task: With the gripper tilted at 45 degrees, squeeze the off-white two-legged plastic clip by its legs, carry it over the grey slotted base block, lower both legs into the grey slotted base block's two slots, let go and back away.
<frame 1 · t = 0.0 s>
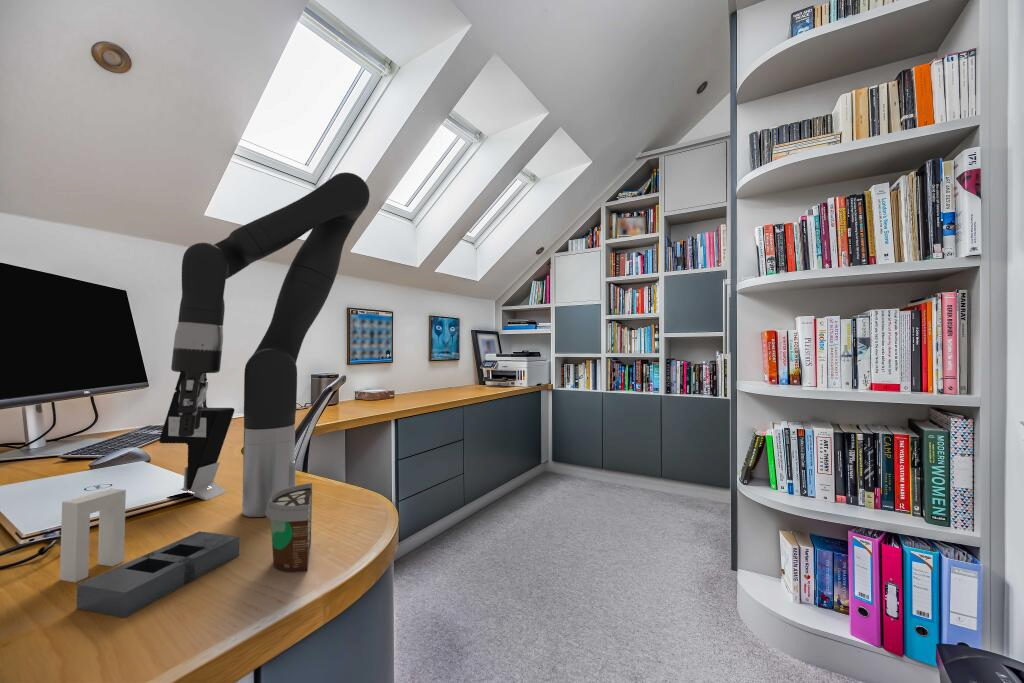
hand: (189, 432, 79), 17 cm above the table, fingers open, 8 cm apart
food container: (287, 561, 64), on the table
award: (195, 495, 94), on the table
grey slotted base block: (167, 578, 59), on the table
clip: (93, 570, 61), on the table
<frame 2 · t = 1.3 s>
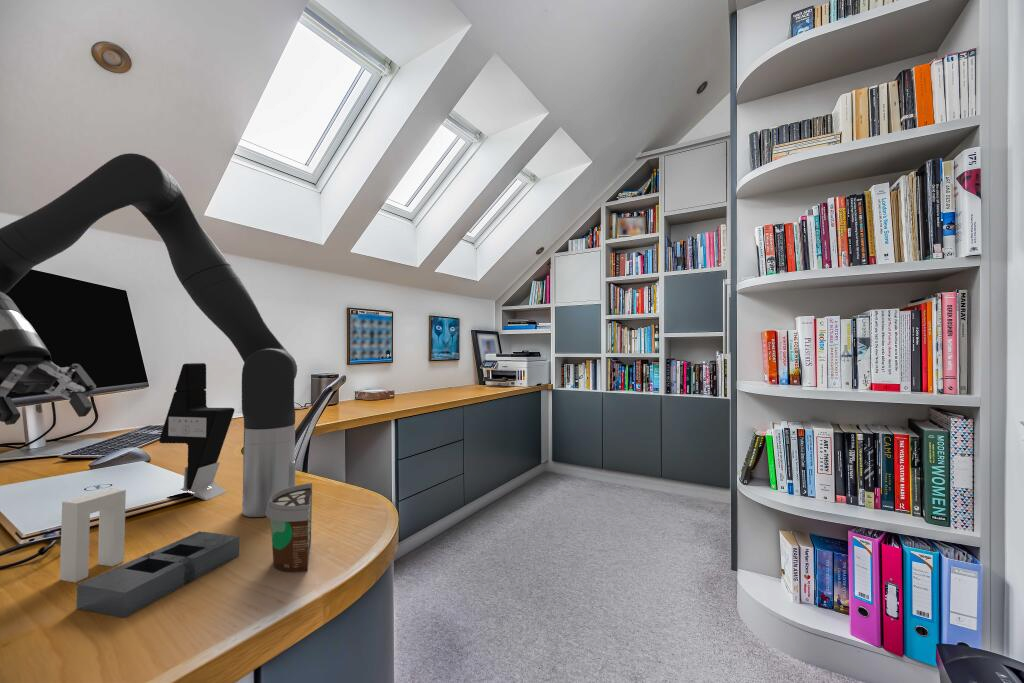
hand: (52, 416, 65), 22 cm above the table, fingers open, 8 cm apart
nothing on the table moved.
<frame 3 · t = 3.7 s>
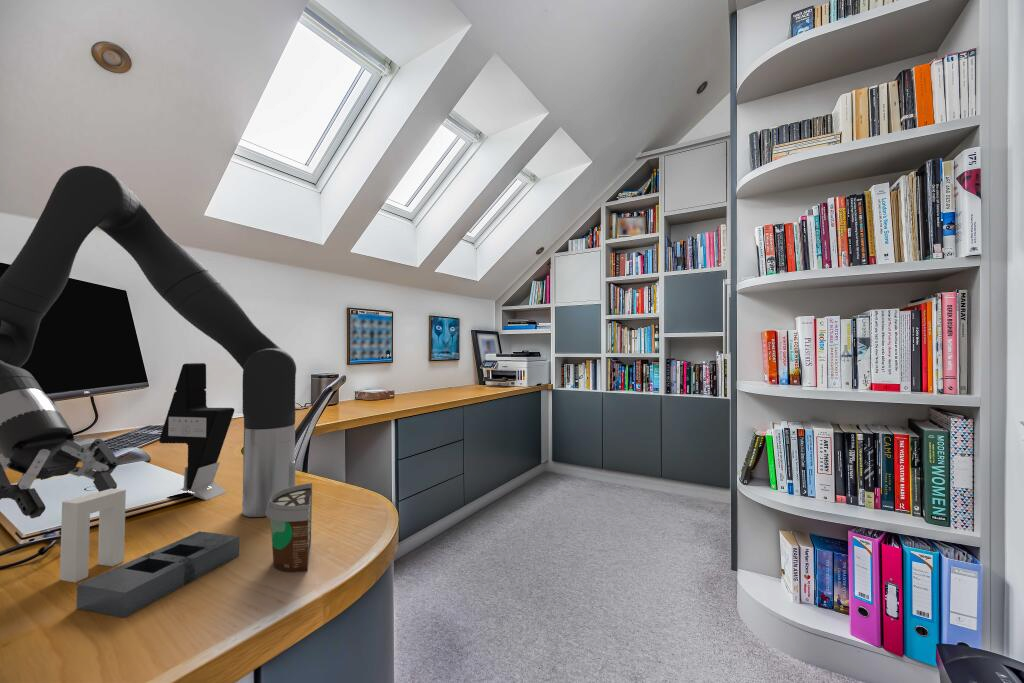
hand: (77, 503, 62), 10 cm above the table, fingers open, 8 cm apart
nothing on the table moved.
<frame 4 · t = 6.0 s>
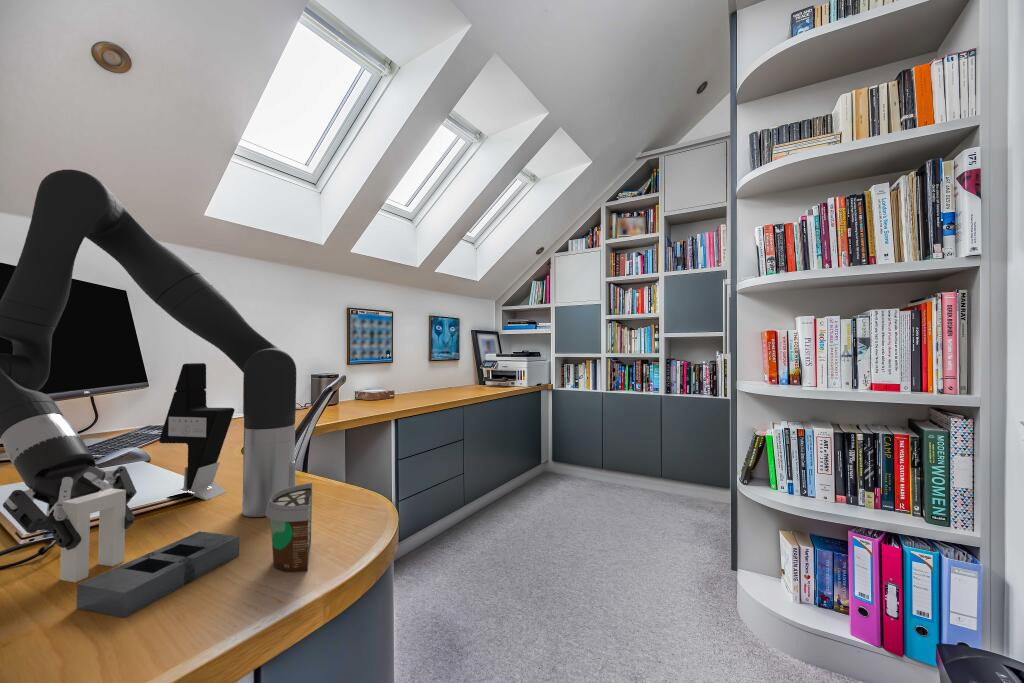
hand: (103, 535, 61), 5 cm above the table, fingers closed on clip, 6 cm apart
clip: (93, 570, 61), on the table, touching gripper
everything else where it was.
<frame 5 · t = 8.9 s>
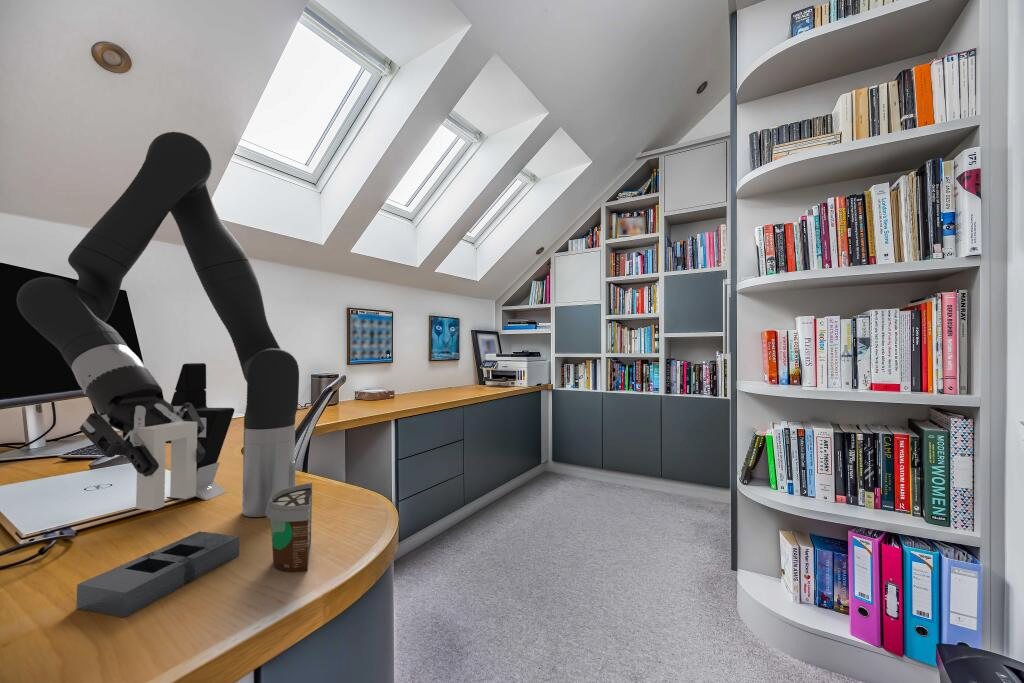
hand: (177, 465, 59), 16 cm above the table, fingers closed on clip, 6 cm apart
clip: (167, 501, 59), point 11 cm above the table, touching gripper
everything else where it was.
when the fingers open (6 cm above the table, at t = 11.9 s): clip stays where it is, resting in grey slotted base block.
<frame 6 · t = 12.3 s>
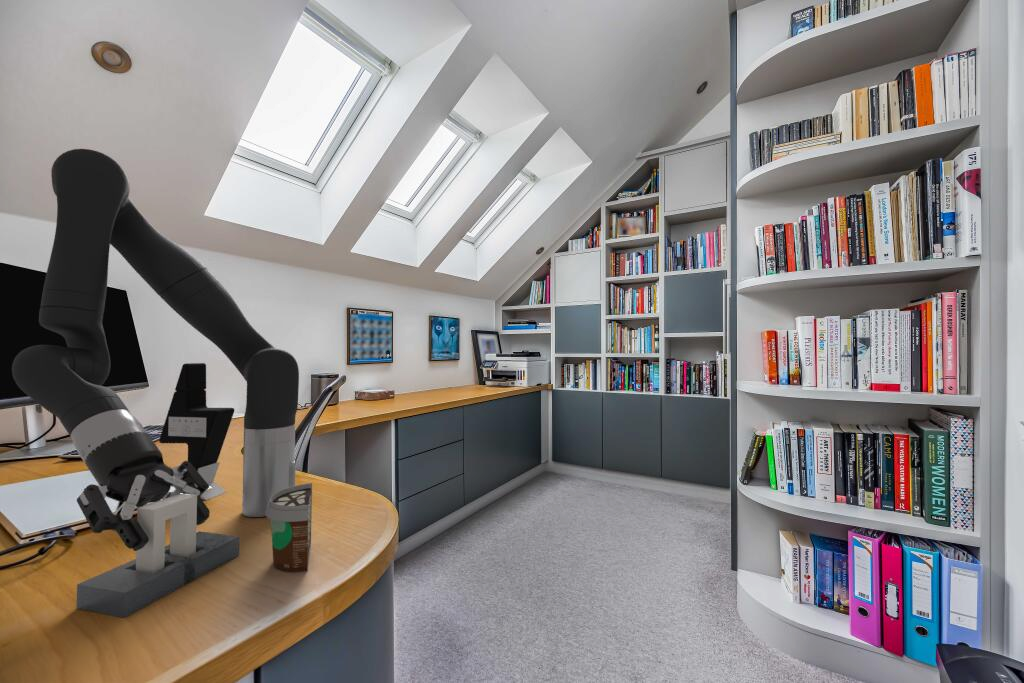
hand: (175, 532, 59), 7 cm above the table, fingers open, 8 cm apart
clip: (166, 578, 59), resting in grey slotted base block
everything else where it was.
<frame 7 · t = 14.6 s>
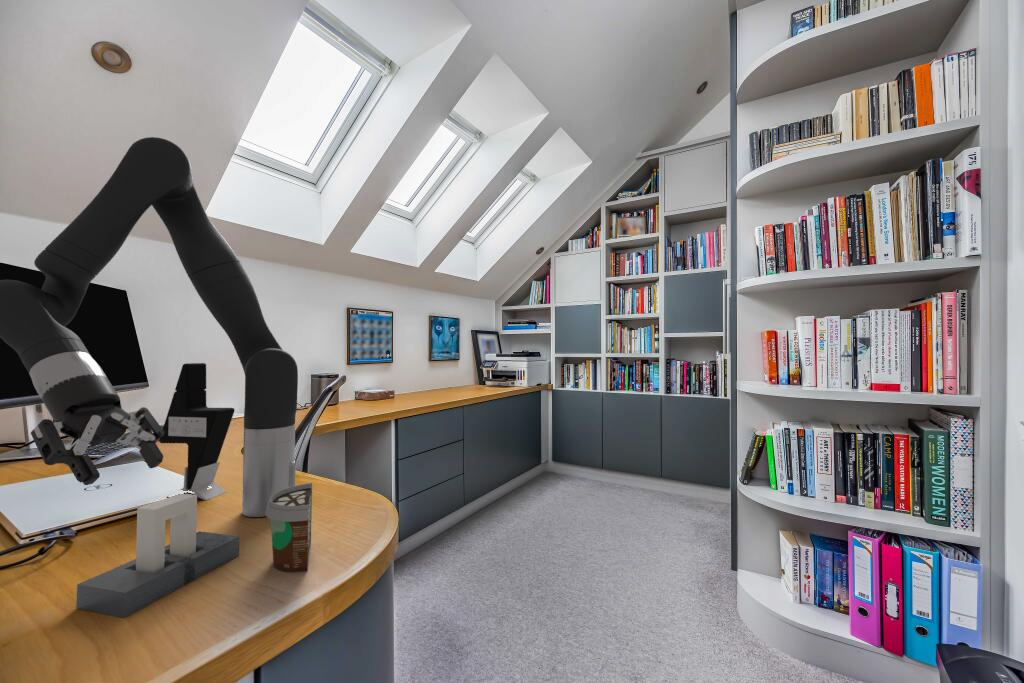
hand: (127, 472, 62), 14 cm above the table, fingers open, 8 cm apart
nothing on the table moved.
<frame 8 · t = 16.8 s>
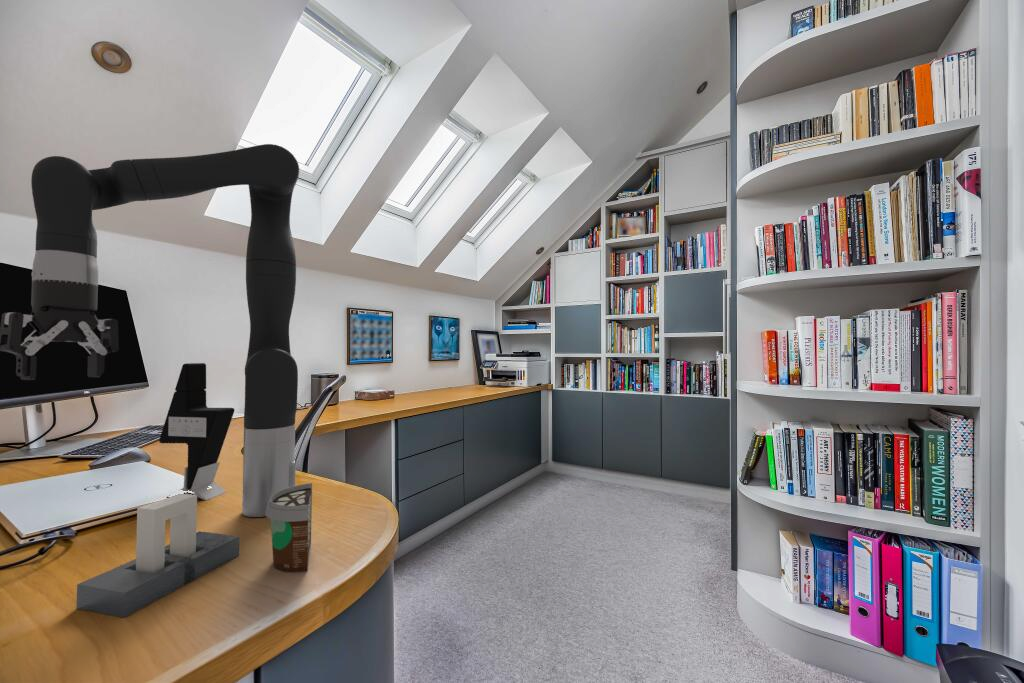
hand: (63, 378, 69), 28 cm above the table, fingers open, 8 cm apart
nothing on the table moved.
at the end: clip 0.1 cm off-centre on the grey slotted base block, point 0.0 cm above the grey slotted base block's base; clip tilted 0°; the gripper is holding nothing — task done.
